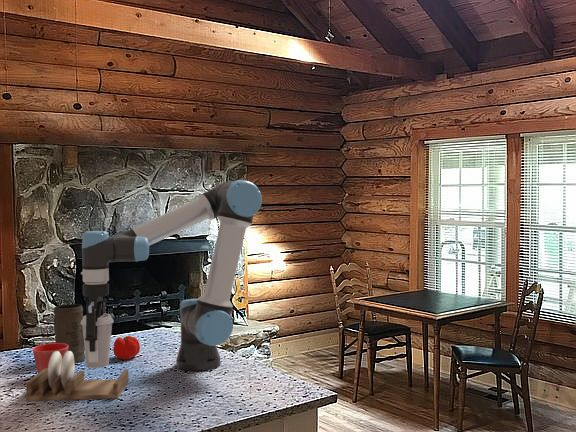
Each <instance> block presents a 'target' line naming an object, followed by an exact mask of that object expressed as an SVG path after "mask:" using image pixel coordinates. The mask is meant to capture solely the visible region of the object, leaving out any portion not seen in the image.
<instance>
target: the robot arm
mask: <svg viewBox="0 0 576 432" xmlns="http://www.w3.org/2000/svg"><path fill="white" fill-rule="evenodd" d="M262 201H263V197H262V193H261V191H260V189H259V187H258V186H257V185H256V184H254V183H253V182H252V181H249V180H242V179H238V180H228V181H227V180H226V181H224V182H221V183H220V184H218V185H216V186H214V187H212V188H211V189H209V190H207V191H205V192H203V193H201V194H199V196H198V198H197V199H195V200H192V201H190V202H188V203H186V204H184V205H181V206H178V207H177V208H174V209H172V210H170V211H168V212H166V213H163V214H161V215H159V216H157V217H154V218H153V219H150V220H148V221H146V222H143V223H141V224H139V225H138V226H134V227H132V228H131V229H128V230H126V231H124V232H121V233H116V234H114V235H112V236H109V232H108V231H106V230H95V231H94V230H91V231H88V230H87V231H85V232H83V234H82V241H81V243H82V244H81V256H82V257H81V258H82V263H81V265H82V271H81V272H80V275H82V282H83V284H82V296H83V297H86V298H88V299H89V301H88V303H87V305H85V315H86V338H85V341H88V362H98V340H97V332H98V331H97V326H96V322H97V320H98V317H100V316H102V315H103V314H107V313H106V303H107V300H106V298H103V297H106V296H108V295H109V294H110V283H108V282H109V281H110V273H109V270H110V269H109V267H110V266H109V263H115V262H117V263H118V262H120V263H121V262H123V263H124V262H139V261H140V262H141V261H142V262H143V261H147V259H148V258H149V255H150V246H151V245H154V244H156V243H159V242H160V241H162V240H165V239H167V238H168V237H171V236H173V235H176V234H179V233H180V232H182V231H184V230H186V229H188V228H190V227H192V226H195V225H197V224H199V223H201V222H203V221H206V220H215V219H218V220H219V228H218V233H217V236H216V240H215V245H214V248H213V254H212V258H211V262H210V267H209V270H208V273H207V274H208V275H207V279H206V282H205V288H204V292H203V294H202V295H201V296H199V297H198V298H190V299H184V300H182V301H181V302H180V304H179V305H180V306H179V307H180V308H179V312H180V346H179V350H178V352H177V357H176V358H175V359H176V360H175V365H176V366H175V367H176V369H177V368H178V369H179V370H183V371H190V372H196V371H197V372H198V371H200V372H201V371H206V370H207V371H208V370H212V369H216V368H218V367H219V366H220V365H221V356H220V353H219V351H218V347H217V346H219V345H221V344H224V343H225V342H226V341H228V339H229V338H230V337H231V335H232V333H233V329H234V323H233V320H232V317H231V316H232V313H233V307H234V304H232V302H231V300H230V299H231V295H232V291H233V286H234V282H235V278H236V273H237V269H238V265H239V260H240V255H241V252H242V247H243V245H244V238H245V234H246V230H247V228H249V227H251V226H252V225H253V224H252V223H253V221H254V216H255V215H256V214H257V213H258V211H259V210H260V208H261V207H262V204H263V202H262ZM91 335H92V336H91Z"/></svg>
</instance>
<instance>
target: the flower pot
mask: <svg viewBox="0 0 576 432" xmlns="http://www.w3.org/2000/svg"><path fill="white" fill-rule="evenodd" d="M68 347H69V346H68V345H67V344H63V343H55V342H53V343H52V342H51V343H43V344H40V345H36V346H34V347H33V348H32V353H33V357H34V362H35V367H36V370H37V374H38V373H39V372H40V371H42V370H43V369H44V368H48V365H49V360H50V357H51V355H52V353H53V352H54V351H59V352H60V354H61V356H62V359H63V356H64V354H65V352H66V351H68Z"/></svg>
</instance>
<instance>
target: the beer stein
mask: <svg viewBox="0 0 576 432" xmlns="http://www.w3.org/2000/svg"><path fill="white" fill-rule="evenodd" d="M83 311H84V307H83V305H82V304H80V303H79V304H78V303H72V304H71V303H68V304H61V305H56V306H54V308H53V315H54V316H53V330H54V335H55V336H54V340H55V341H54V343H63V344H67V345H68V346H69V347H68V351H71V352H72V353H73V356H74V361H75V364H77V363H80V362H83V361H84V360H86V358H85V347H84V337H83V327H82V324H81V320H82V319H83V316H84V312H83Z"/></svg>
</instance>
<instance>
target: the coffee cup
mask: <svg viewBox="0 0 576 432" xmlns="http://www.w3.org/2000/svg"><path fill="white" fill-rule="evenodd" d="M113 323H114V319H113V317H112V316H111V314H110V313H106V314H103V315H102V316H100V317H98V320H97V322H96V326H97V331H98V332H97V340H98V362H88V341H85V338H86V314H85V315H83V319H82V320H81V324H82V327H83V337H84V347H85V351H84V354H85V365H86V367H87V368H90V369H99V368H104V367H108V366H109V364H110V363H109V362H110V351H111V350H110V349H111V338H112V330H113V328H112V327H113V326H112V325H113ZM91 336H92V335H91Z"/></svg>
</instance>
